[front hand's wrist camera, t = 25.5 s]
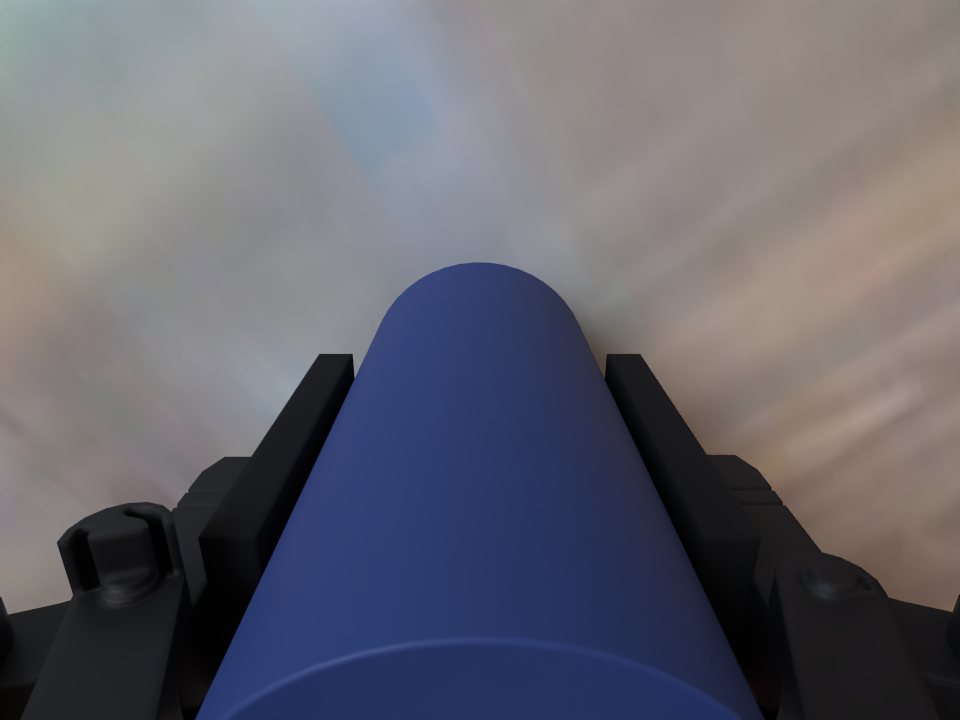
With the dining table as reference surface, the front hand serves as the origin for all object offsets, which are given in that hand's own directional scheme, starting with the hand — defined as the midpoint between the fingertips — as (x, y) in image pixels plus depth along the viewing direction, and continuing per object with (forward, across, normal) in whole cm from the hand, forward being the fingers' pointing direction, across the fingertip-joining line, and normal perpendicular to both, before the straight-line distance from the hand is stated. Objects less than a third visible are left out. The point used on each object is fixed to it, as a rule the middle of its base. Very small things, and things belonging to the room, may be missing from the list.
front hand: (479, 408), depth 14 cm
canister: (+2, 0, 0) cm, 2 cm away
